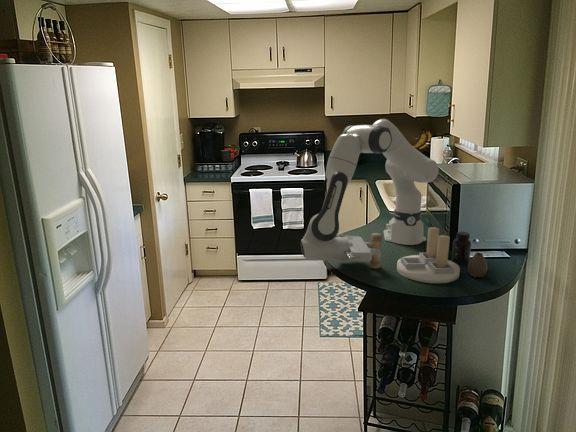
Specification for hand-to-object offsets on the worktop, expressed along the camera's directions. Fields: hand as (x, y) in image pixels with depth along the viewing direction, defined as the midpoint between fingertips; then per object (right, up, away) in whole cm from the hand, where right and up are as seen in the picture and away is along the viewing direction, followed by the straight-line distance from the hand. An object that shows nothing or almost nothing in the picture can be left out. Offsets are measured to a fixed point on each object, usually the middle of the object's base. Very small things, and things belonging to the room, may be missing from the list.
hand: (378, 248), depth 188 cm
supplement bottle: (+35, -6, +8) cm, 36 cm away
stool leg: (-1, -7, +2) cm, 8 cm away
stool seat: (+18, -9, -3) cm, 21 cm away
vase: (+36, -10, -6) cm, 38 cm away
